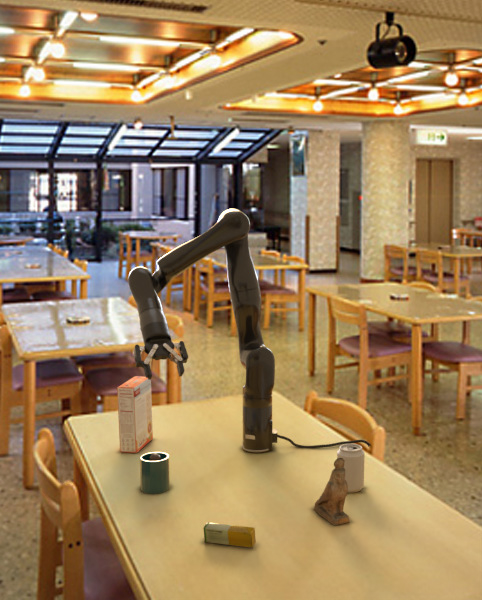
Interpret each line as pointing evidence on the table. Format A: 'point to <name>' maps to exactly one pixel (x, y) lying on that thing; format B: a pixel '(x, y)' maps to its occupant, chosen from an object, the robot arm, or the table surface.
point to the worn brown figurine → (334, 496)
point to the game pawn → (155, 457)
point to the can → (353, 466)
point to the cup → (154, 473)
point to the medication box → (229, 534)
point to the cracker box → (135, 414)
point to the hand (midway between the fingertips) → (165, 376)
